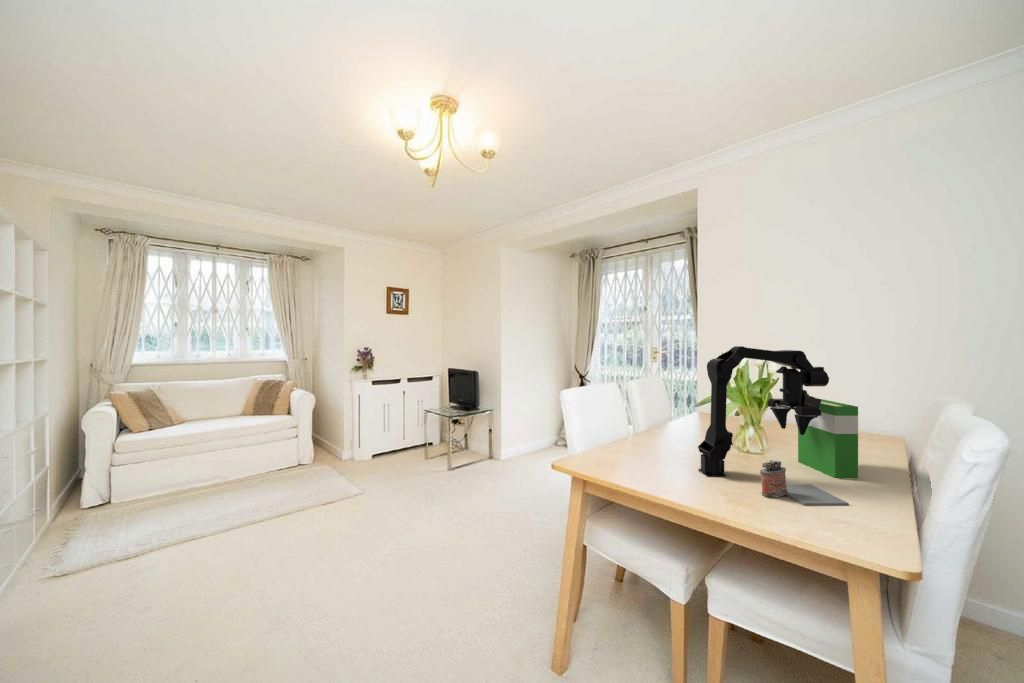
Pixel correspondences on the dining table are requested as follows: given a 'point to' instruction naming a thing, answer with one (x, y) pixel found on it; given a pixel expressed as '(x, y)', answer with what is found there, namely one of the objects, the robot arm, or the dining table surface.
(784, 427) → the robot arm
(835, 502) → the mat
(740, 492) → the dining table surface
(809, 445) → the hardback book
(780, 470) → the lighter
